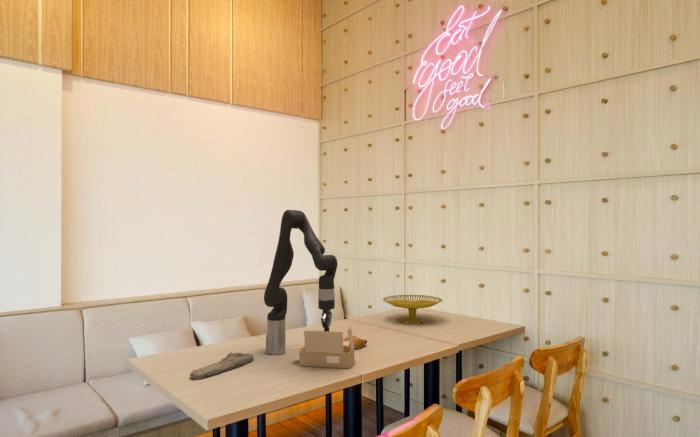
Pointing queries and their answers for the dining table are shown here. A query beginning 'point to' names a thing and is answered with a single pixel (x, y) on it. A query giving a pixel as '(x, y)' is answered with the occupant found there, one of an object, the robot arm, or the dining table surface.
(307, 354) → the carton
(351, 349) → the flap far
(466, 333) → the dining table surface
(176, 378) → the dining table surface
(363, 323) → the dining table surface
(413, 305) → the yellow pedestal fruit bowl
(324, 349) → the flap near
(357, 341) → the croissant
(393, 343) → the dining table surface
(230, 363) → the long grey stone
